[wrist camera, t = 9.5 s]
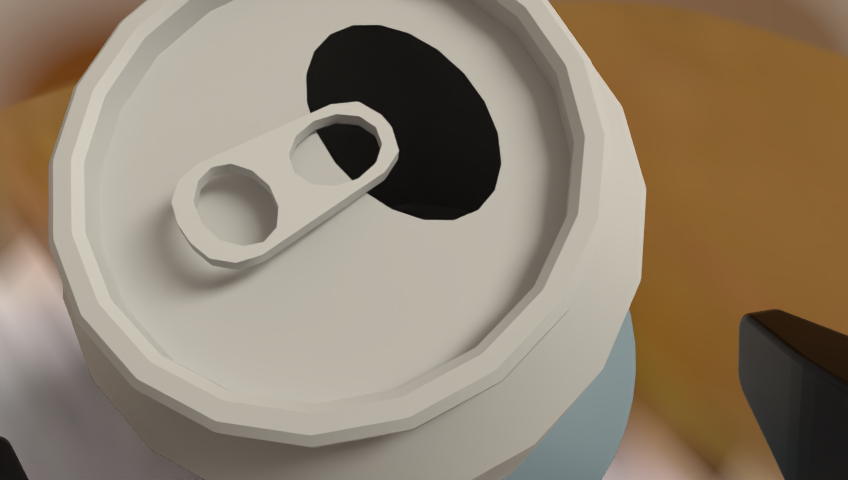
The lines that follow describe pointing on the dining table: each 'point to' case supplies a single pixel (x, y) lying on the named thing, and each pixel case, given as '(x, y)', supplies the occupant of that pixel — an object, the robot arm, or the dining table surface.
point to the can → (345, 233)
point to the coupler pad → (589, 422)
